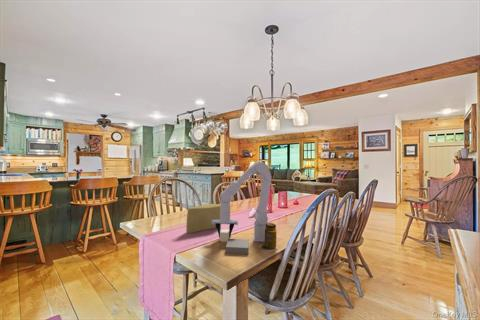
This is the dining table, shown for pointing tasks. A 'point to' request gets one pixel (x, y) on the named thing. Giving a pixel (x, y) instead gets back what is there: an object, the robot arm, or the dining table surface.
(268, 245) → the condiment
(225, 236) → the cube
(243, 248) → the base
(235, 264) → the dining table surface
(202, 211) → the olive rectangular box
